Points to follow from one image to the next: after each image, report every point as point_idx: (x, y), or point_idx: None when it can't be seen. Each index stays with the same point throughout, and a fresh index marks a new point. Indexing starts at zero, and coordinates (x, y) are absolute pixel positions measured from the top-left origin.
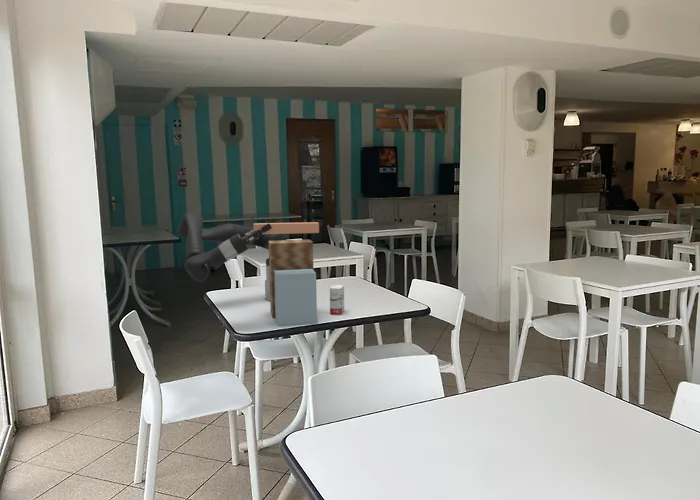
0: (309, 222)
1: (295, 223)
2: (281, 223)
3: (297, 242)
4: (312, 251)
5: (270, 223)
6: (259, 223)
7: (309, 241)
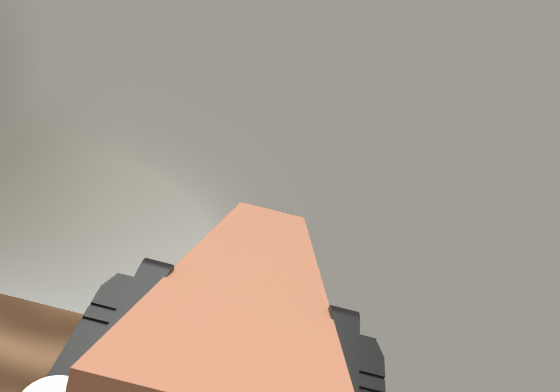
0: (243, 208)
1: (306, 241)
2: (273, 256)
3: (48, 358)
4: None
5: (231, 278)
6: (145, 320)
7: (58, 315)
